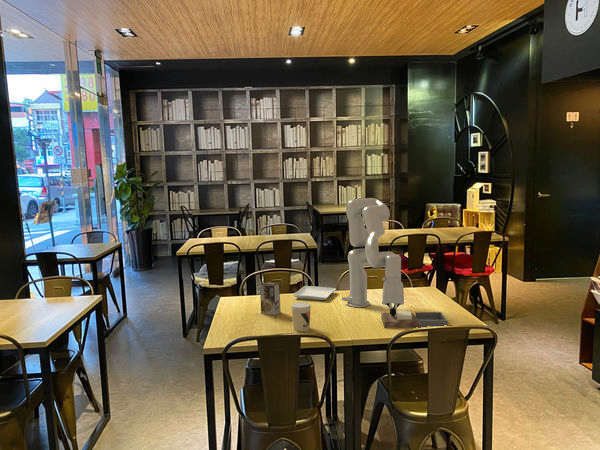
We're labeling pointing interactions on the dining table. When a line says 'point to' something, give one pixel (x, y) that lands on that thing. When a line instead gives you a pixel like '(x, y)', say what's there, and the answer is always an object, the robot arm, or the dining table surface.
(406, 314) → the tile
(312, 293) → the salad plate
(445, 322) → the tray
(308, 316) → the coffee cup
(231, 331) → the dining table surface
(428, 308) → the dining table surface
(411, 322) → the flat wooden board
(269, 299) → the coffee box
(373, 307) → the dining table surface
